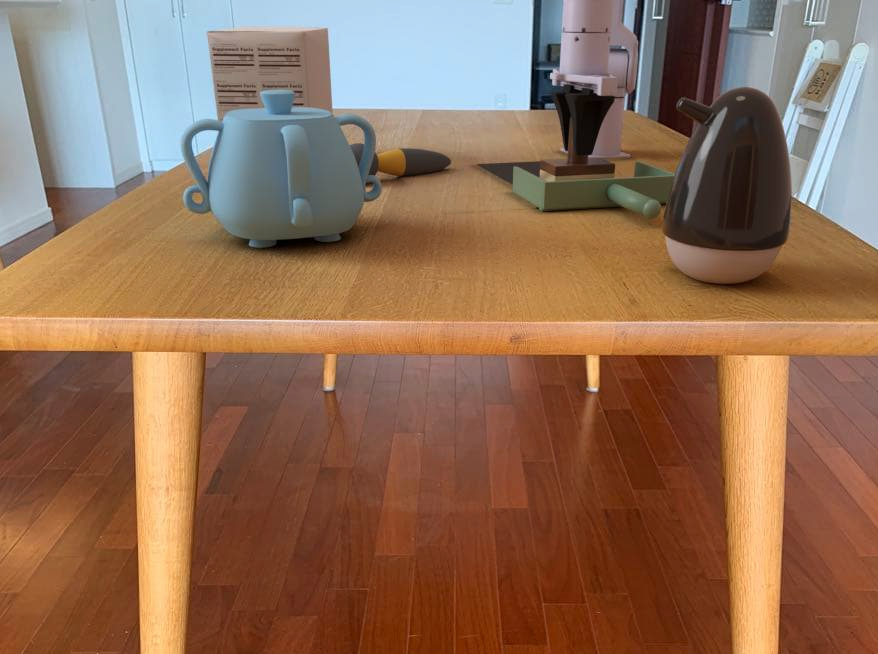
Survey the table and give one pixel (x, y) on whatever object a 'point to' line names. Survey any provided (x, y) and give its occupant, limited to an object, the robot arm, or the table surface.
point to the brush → (575, 166)
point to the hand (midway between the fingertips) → (578, 152)
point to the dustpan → (598, 191)
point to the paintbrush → (403, 161)
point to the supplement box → (269, 66)
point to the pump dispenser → (730, 190)
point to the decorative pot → (282, 172)
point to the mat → (511, 169)
